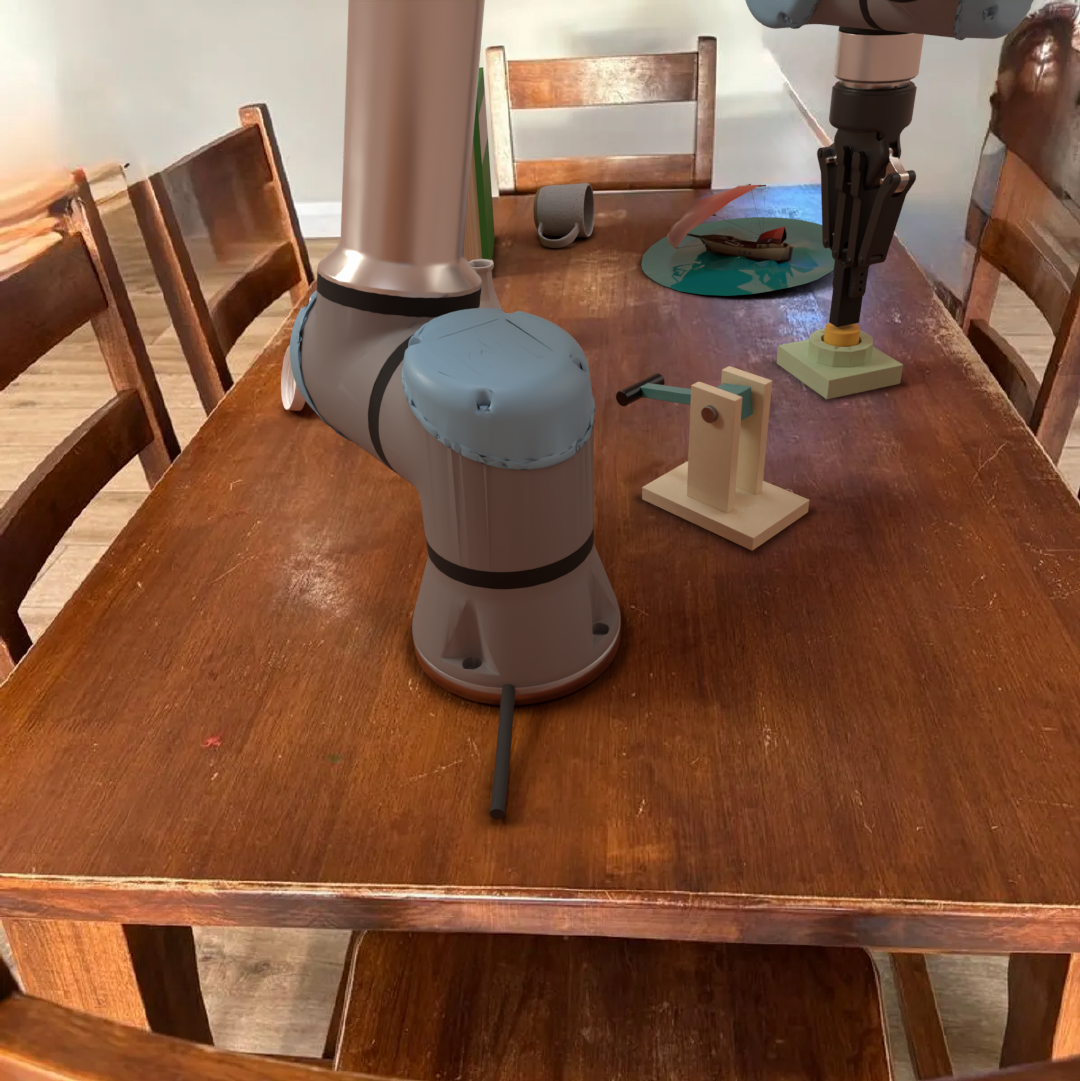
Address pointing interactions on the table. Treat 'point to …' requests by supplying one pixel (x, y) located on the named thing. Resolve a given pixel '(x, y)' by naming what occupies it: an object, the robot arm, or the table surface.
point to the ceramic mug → (564, 213)
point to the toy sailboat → (737, 251)
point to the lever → (677, 393)
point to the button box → (839, 365)
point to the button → (842, 335)
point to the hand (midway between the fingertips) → (844, 322)
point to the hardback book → (479, 187)
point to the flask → (486, 283)
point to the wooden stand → (728, 467)
